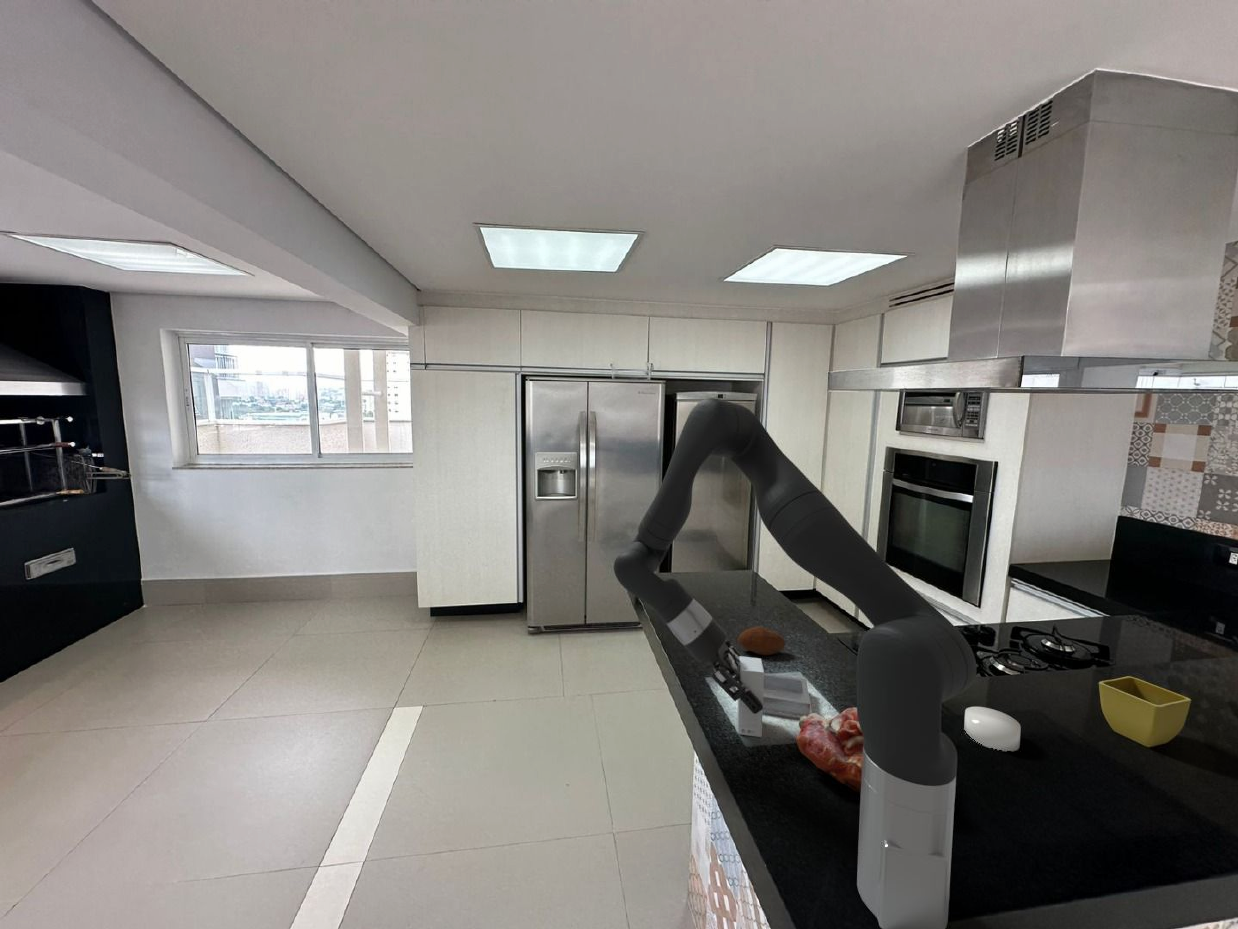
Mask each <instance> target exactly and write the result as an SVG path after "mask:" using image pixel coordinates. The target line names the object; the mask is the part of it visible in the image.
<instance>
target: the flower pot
mask: <svg viewBox="0 0 1238 929" xmlns="http://www.w3.org/2000/svg"><path fill="white" fill-rule="evenodd" d="M1098 690H1099V698H1100V704H1101V705H1100V706H1101V710H1102V713H1103V715H1104V718H1105V720H1106V722H1108V725H1109V727H1110V728H1111V729H1112V730H1113V731H1114V732H1115V733H1117V734H1119V735H1121V736H1122V737H1123V736H1124V738H1128V739H1130V740H1132V741H1134V742H1136V743H1138V744H1141V745H1143V746H1144V747H1147V748H1151V747H1152V748H1153V747H1155V746H1156V747H1157V746H1159V745H1163V744H1167V743H1169V742H1170V741H1172V740H1173V739H1174V738H1175V737H1176V736H1177V735H1178V734H1179V733H1180V732H1181V730H1182V729H1183V727H1184V726H1185V724H1186V721H1187V716H1188V714H1189V710H1190V705H1191V703H1192V699H1191V698H1189V697H1187V696H1184V695H1182V694H1179V693H1177V692H1174V691H1171V690H1168V689H1166V688H1163V687H1161V686H1158V685H1155V684H1152V683H1150V682H1148V681H1145V680H1142V679H1140V678H1137V677H1133V676H1130V675H1129V676H1123V677H1119V678H1114V679H1107V680H1101V681H1099V682H1098Z"/></svg>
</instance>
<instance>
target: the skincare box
mask: <svg viewBox="0 0 1238 929" xmlns="http://www.w3.org/2000/svg"><path fill="white" fill-rule="evenodd" d="M763 665H764V664H763V661H762V658H759V657H749V656H743V655H742V656H740V657H739V670H740V675H741V677H742V678H741V680H742V681H743V682H744V683H745V684H746V686H747V687H748V689H749V690H750V691H751V692H752V693H753V694H754V695H755V696H756V697H757V699H758V700H759V701H760V702H761V703H762V704H763V689H764V673H765V671H764V670H765V669H764V666H763ZM738 683H739V682H738ZM739 684H740V683H739ZM763 715H764V713H763V709H762V710H761V711H759V712H758V713H756V714H754V713H752V711H751V710H750V709H749V708H748V707H747V706H746V705H745V704H744V702H743V701H742V700H741V699H740V698H739V699H738V700H737V710H736V720H737V722H736V723H737V734H738V735H744V736H749V737H750V736H751V737H756V738H757V737H759V738H761V737H762V735H763V734H762V733H763Z"/></svg>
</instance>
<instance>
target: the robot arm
mask: <svg viewBox="0 0 1238 929" xmlns="http://www.w3.org/2000/svg"><path fill="white" fill-rule="evenodd" d="M710 456H716V457H722V458H726V459H727V460H729V461H731V462H732V463H733V464H734V465H735V466H736V467H737V468H738V469H739V470H740V471H741V473H743V475H744V476H745V477H746V478H747V480H748V481H749V482H750V484H751V485H752V488H753V490H754V494H755V500H756V506H757V510H758V513H759V516H760V519H761V522H762V523H763V525H764V526H765V528H766V529H767V531H768V532H769V534H770V535H771V536H772V537H773V539H774V540H775V541H776V543H777V544H778V545H779V547H780V548H781V549H782V551H783V552H784V553H785V554H786V555H787V557H789V558H790V559H791V561H792V562H794V563H795V564H796V565H798V566H799V567H800V568H801V569H803V570H804V571H806V572H807V573H809V574H810V575H812V576H814V577H815V578H816V579H818V580H819V581H821V582H823V583H824V584H826V585H828V586H829V587H831V588H832V589H834V590H835V591H837V592H838V593H840V594H841V595H843V596H844V597H845V598H847V599H848V601H850V602H852V603H853V605H854V606H855V607H857V608H858V609H859V610H860V611H861V612H862V614H863V616H865V617H866V619H867V620H868V621H869V622H870V624H871V625H872V627H871V628H870V629H869V630H867V631H866V633H864V635H863V636H862V638H861V640H860V642H859V647H858V651H857V655H856V656H857V657H856V708H857V717H858V722H859V725H860V728H861V731H862V733H863V760H862V779H861V794H860V799H859V800H860V803H859V821H858V822H859V823H858V824H859V826H858V828H859V829H858V844H857V845H858V846H857V849H858V850H857V852H858V853H857V873H856V875H857V877H856V886H857V891H858V893H859V896H860V898H861V900H862V902H863V903H864V904H865V906H866V907H867V908H868V909H869V910H870V912H871V913H872V914H873V915H874V917H875V918H877V922H878V925H879V927H880V928H881V929H946V928H947V925H948V919H949V908H950V907H949V906H950V905H949V904H950V903H949V902H950V888H951V887H950V885H951V884H950V883H951V869H952V867H951V866H952V851H953V850H952V848H953V834H954V833H953V831H954V819H955V818H954V816H955V815H954V813H955V799H956V786H957V782H956V781H957V774H958V773H957V772H958V771H957V769H958V752H957V748H956V746H955V744H954V743H953V741H952V740H951V739H950V737H949V736H947V735H946V734H945V733H944V732H943V731H942V707H943V703H944V702H947V701H948V700H951V699H952V698H954V697H956V696H959V695H960V694H961V693H964V692H965V691H967V690H968V689H970V688H971V686H972V685H973V683H974V682H975V680H976V676H977V661H976V658H975V654H974V652H973V649H972V647H971V646H970V644H969V642H968V641H967V639H966V637H964V634H962V633H961V632H960V630H959V629H958V628H957V627H956V626H955V625H954V624H953V623H952V622H951V621H950V620H949V619H948V618H947V617H945V616H944V615H943V613H941V612H940V611H939V610H938V609H937V608H936V607H934V605H932V604H931V603H930V602H929V601H927V599H925V598H924V597H923V596H922V595H921V594H920V593H919V592H918V591H917V590H915V589H914V588H913V587H912V586H911V585H910V584H908V583H907V582H906V581H905V580H904V579H903V578H902V577H901V576H900V575H899V574H898V573H896V571H895V570H894V569H892V568H891V567H890V565H889V564H888V563H887V562H886V561H885V560H884V558H882V557H881V556H880V554H879V553H878V552H877V551H876V550H875V549H874V548H873V547H872V546H871V545H870V543H868V542H867V541H866V540H865V539H864V537H863V536H862V535H861V534H860V533H859V532H858V531H857V530H856V529H855V528H854V527H853V526H852V525H851V523H849V522H848V520H847V519H846V518H845V516H844V515H843V514H842V513H841V512H840V511H839V509H838V508H837V507H836V506H835V505H834V504H833V502H831V501H830V499H828V497H826V495H825V494H824V493H823V492H822V491H821V490H820V489H819V488H818V487H817V486H816V485H815V484H814V483H813V482H812V481H811V480H810V479H809V478H808V477H807V476H806V475H805V474H804V473H803V472H802V471H801V470H800V468H799V467H797V465H796V464H795V463H794V462H793V461H792V460H790V458H789V457H788V456H786V454H785V453H784V452H783V451H782V449H781V448H780V447H779V446H778V445H777V444H776V442H775V441H774V439H773V438H772V436H771V435H770V434H769V432H768V431H767V429H766V428H765V427H764V425H763V424H762V423H761V421H760V419H758V417H757V415H755V413H754V412H752V410H750V409H749V408H748V407H746V406H744V405H742V404H739V403H735V402H730V401H728V400H724V399H719V398H715V397H708V398H705V399H702V400H700V401H699V402H698V403H696V405H695V406H693V407H692V410H691V411H690V412H689V414H688V416H687V418H686V420H685V422H684V424H683V427H682V430H681V433H680V435H679V438H678V439H677V443H676V446H675V448H674V451H673V453H672V456H671V459H670V461H669V465H668V468H667V470H666V472H665V475H664V477H663V480H662V482H661V485H660V487H659V489H658V491H657V493H656V495H655V496H654V499H653V500H652V502H651V504H650V505H649V508H648V509H647V510H646V512H645V514H644V516H643V517H642V519H641V521H640V523H639V525H638V528H637V531H638V532H637V535H636V536H635V538H634V539H633V541H632V542H631V544H630V545H629V546H628V547H627V548H625V549H624V550H623V551H622V552H621V553H620V554H619V555H618V556H617V557H616V558H615V560H614V562H613V571H614V575H615V577H616V579H617V581H618V582H619V584H620V585H621V586H622V587H623V588H624V589H625V590H627V591H628V592H629V593H630V594H632V595H633V596H635V597H636V598H637V599H639V600H640V601H642V602H643V603H644V604H646V605H648V606H649V607H651V608H652V610H654V612H655V613H656V614H657V615H658V617H660V618H661V620H662V621H663V622H664V623H665V624H666V625H667V627H668V628H669V630H670V631H671V632H672V634H673V635H674V637H676V638H677V640H678V641H679V642H680V643H681V644H682V646H683V647H684V648H685V649H686V650H687V652H689V654H690V655H691V656H692V657H693V658H694V659H695V660H696V661H697V662H698V663H705V662H706V661H707V662H709V663H710V665H711V667H712V669H713V670H714V672H713V673H712V675H711V678H712V679H713V681H714V682H716V684H718V685H719V687H720V688H721V689H722V690H723V691H724V692H725V693H726V694H727V696H729V698H731V699H732V701H734V702H737V701H738V699H739V698H740V699H741V700H742V701H743V702H744V704H745V705H746V706H747V707H748V708H749V709H750V710H751V711H752V713H754V714H756V713H758V712H759V711H761V710H762V709H763V704H762V703H761V702H760V701H759V700H758V699H757V697H756V696H755V695H754V694H753V693H752V692H751V691H750V690H749V689H748V687H747V686H746V684H745V683H744V682H743V681H742V680H741V678H742V677H741V675H740V670H739V657H740V656H743V654H742V653H741V652H740V651H739V650H738V648H737V647H736V646H735V645H734V644H733V642H732V641H731V640H730V639H729V638H728V634H727V632H726V631H725V630H724V628H722V626H721V625H720V624H719V623H718V622H717V621H716V620H715V619H714V618H713V617H712V615H711V614H710V613H709V612H708V611H707V610H706V609H705V608H704V607H703V606H702V605H701V604H700V603H699V602H698V601H697V600H695V598H693V596H692V595H691V594H690V593H689V592H688V591H687V590H686V589H685V588H684V586H683V585H682V584H681V583H680V582H678V580H676V579H674V578H667V579H665V580H664V579H662V578H661V577H660V576H658V575H657V574H656V573H655V572H656V571H657V569H658V568H659V567H660V565H661V564H662V562H663V560H664V558H665V557H666V555H667V552H668V550H669V548H670V546H671V545H672V543H673V542H674V541H675V540H676V538H677V536H678V535H679V533H680V532H681V530H682V529H683V526H684V525H685V523H686V521H687V520H688V517H689V515H690V512H691V509H692V504H693V503H692V501H693V486H694V481H695V479H696V476H697V473H699V472H698V471H699V470H700V468H701V467H702V466H703V465H704V463H705V461H706V460H707V459H708V458H709V457H710ZM738 682H739V683H740V684H739V683H738Z"/></svg>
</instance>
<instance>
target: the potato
mask: <svg viewBox="0 0 1238 929" xmlns="http://www.w3.org/2000/svg"><path fill="white" fill-rule="evenodd" d="M737 641H738V644H739V646H741V647H742V648H744V649H745V650H747V651H749V652H752V653H754V654H757V655H761V656H771V655H775V654H776V653H779V652H780V651H782V650H783V649H784V648H785V646H786V640H785V639H784V637H783V636H782V635H781V634H780V633H778V632H776V631H772V630H770V629H768V628H766V627H763V626H753V627H749V628H748V629H746V630H744V631H742V632H741V633H740V634H739V635H738V637H737Z"/></svg>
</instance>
